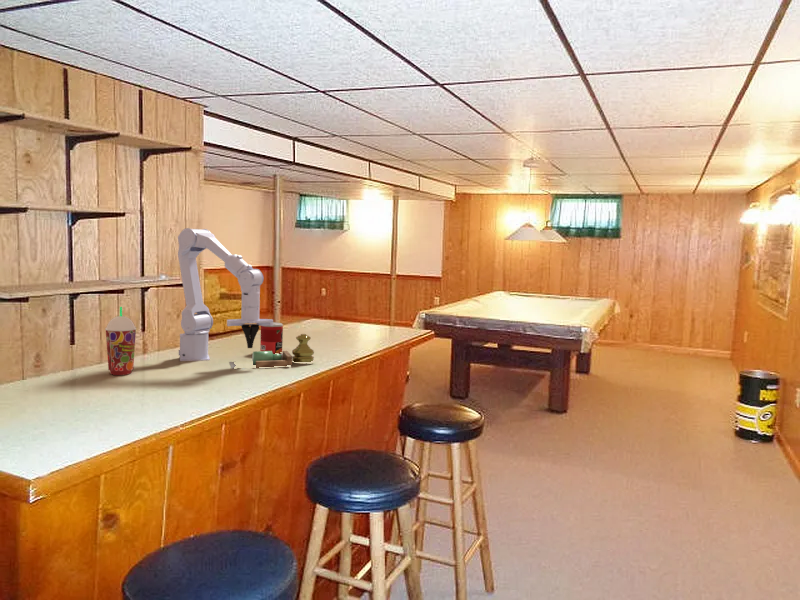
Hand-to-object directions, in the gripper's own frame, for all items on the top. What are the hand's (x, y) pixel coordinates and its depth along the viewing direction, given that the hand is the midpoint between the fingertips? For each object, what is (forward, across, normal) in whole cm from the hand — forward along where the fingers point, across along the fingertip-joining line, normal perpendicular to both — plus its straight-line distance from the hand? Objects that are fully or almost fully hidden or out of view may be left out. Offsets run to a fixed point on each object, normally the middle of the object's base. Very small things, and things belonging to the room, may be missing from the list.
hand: (249, 347), depth 197 cm
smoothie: (+6, -38, -5) cm, 39 cm away
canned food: (+6, +10, +21) cm, 24 cm away
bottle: (+3, +1, 0) cm, 4 cm away
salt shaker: (+6, +18, +2) cm, 19 cm away
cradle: (+6, +4, 0) cm, 7 cm away
